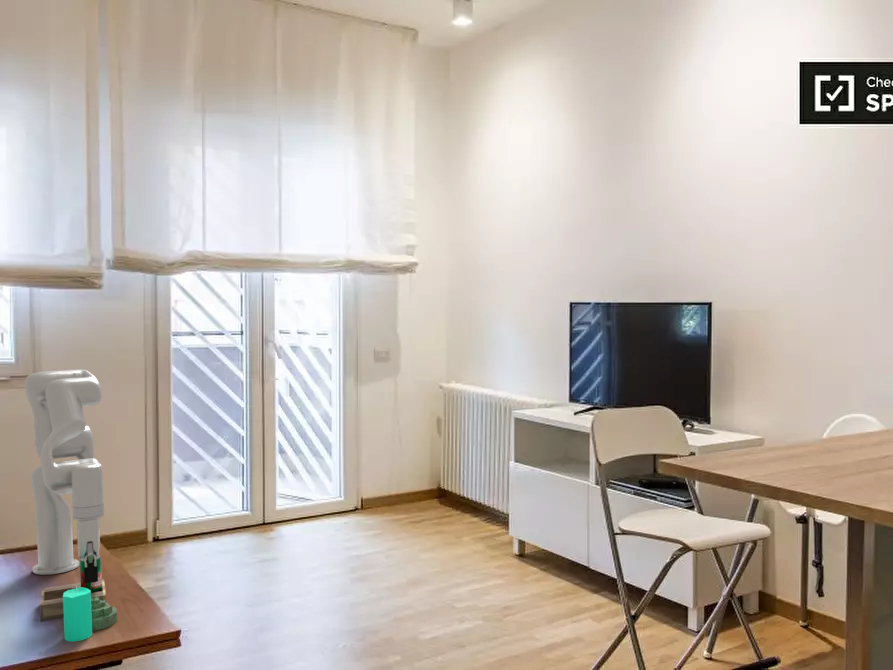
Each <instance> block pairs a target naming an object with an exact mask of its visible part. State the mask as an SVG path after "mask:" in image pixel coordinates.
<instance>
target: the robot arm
mask: <svg viewBox="0 0 893 670" xmlns="http://www.w3.org/2000/svg"><path fill="white" fill-rule="evenodd" d="M24 390H25V391H24V392H25V396H26V398H27V401H28V403H29V406H30V407H31V410H32V414H33V423H34V425H33V426H34V445H35V452H36V455H37V457H38V458H40V459H39V460H40V465H38V466H37V467H36V468H35V469H34V470H33V471H32V472H31V476H30V481H31V488H32V491H33V496H34V497H33V498H34V503H35V504H34V506H35V517H36V518H35V519H36V521H35V522H36V542H37V543H36V544H37V561H38V563H37V564H35V565H34V566H32V573H34V574H35V575H41V576H45V575H57V574H58V575H59V574H62V573H66V572H69V571H72V570H76V569H77V568H79V567H80V559H81V558H82V557H84V559H85V567H84V582H85V583H91V582H97V581H98V565H96V557H97V556H98V555H100V544H101V540H100V538H101V531H100V530H101V529H100V522H101V521H100V518H101V519H102V518H103V517H104V516H105V499H104V496H105V495H104V471H103V466H102V464H101V463H100V462H99V461H98V459H96V457H95V455H96V454H95V441H94V438H95V437H94V435H93V432H92V429H91V428H90V426H88V425H87V422H86V418H85V414H84V410H83V408H85V407H93V406H94V407H95V406H97V405H99V404H100V403H101V401H102V398H103V397H102V396H103V394H102V393H103V392H102V387H101V383H100V382H99V380H98V379H97V378H96V376H95V375H93V373H91V372H90V371H89V370H87V369H80V368H79V369H65V370H64V369H63V370H62V369H61V370H46V371H39V372H33V373H31V374H29V375H28V376H27V377H26V378H25V382H24ZM72 457H73V458H74V457H76V458H77V459H73V460H72V459H71V460H64V461H57V462H56V461H54V459H55V460H56V459H64V458H72ZM66 494H71V502H72V503H71V505H70V504H69V502H67V500H65V499H64V498H63V497H62V496H64V495H66ZM71 506H72V507H71ZM73 520H74V521H76V525H77V526H76V531H77V532H76V535H77V537H76V538H77V555H78V559H79V560H78V559H76V558H74V546H73V545H74V543H73V541H74V539H73Z"/></svg>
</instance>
